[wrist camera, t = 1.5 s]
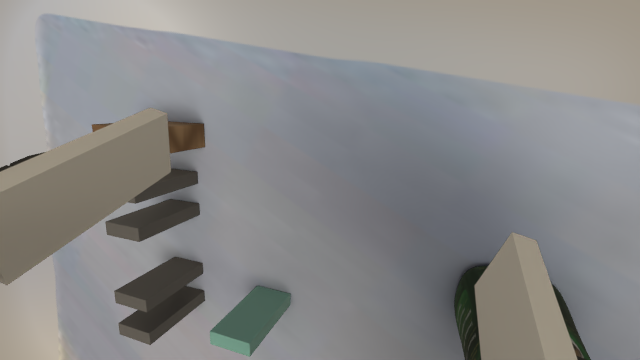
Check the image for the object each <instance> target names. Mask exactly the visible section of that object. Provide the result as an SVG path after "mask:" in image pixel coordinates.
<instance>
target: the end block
mask: <svg viewBox="0 0 640 360" xmlns="http://www.w3.org/2000/svg"><path fill="white" fill-rule="evenodd" d="M111 124H113V123H109V124H93V125H92V129H93V132H95V131H97V130H99V129H102V128H104V127H106V126H109V125H111ZM168 134H169V149H170V153H175V152H180V151H185V150H191V149H196V148H202V147H205V137H204V124H200V123H185V122H169V121H168Z"/></svg>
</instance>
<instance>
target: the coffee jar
mask: <svg viewBox="0 0 640 360" xmlns="http://www.w3.org/2000/svg"><path fill="white" fill-rule="evenodd" d="M487 267H488V266H478V267H474V268H472V269H470V270H468V271H467V272H466V273H465V274H464V275H463V276H462V278H461V280H460V282H459V285H458V288H457V291H456V295H455V303H454V307H455V316H456V322H457V326H458V331H459V335H460V339H461V343H462V347H463V352H464V357H465V360H481V351H480V341H479V330H478V319H477V308H476V297H475V284H476V283H477V282H478V280H479V279H480V277H481V276H482V274H483V273H484V272H485V270H486V269H487ZM552 287H553V290H554V293H555V296H556V299H557V302H558V305H559V307H560V310H561V313H562V316H563V319H564V322H565V325H566V328H567V331H568V333H569V336H570V339H571V342H572V345H573V348H574V351H575V354H576V355H577V356H579V357H582V358H584V359H587V360H591V359H590V357H589V355H588V353H587V351H586V349H585V347H584V345H583V343H582V341H581V338H580V336H579V334H578V332H577V329H576V327H575V324H574V322H573V319H572V317H571V314H570V312H569V310H568V307H567V305H566V303H565V301H564V299H563V297H562V295H561V294H560V292H559V291H558V290H557V289H556V288H555V287H554V286H553V285H552Z"/></svg>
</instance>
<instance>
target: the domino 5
mask: <svg viewBox="0 0 640 360" xmlns="http://www.w3.org/2000/svg"><path fill="white" fill-rule="evenodd" d="M289 306H290V294H289V293H285V292H281V291H277V290H273V289H269V288H265V287H261V286H256V287H255V288H254V289H253V290H252V291H251V292H250V293H249V294H248V295H247V296H246V297H245V298H244V299H243V300H242V301H241V302H240V303H239V304H238V305H237V306H236V307H235V308H234V309H233V310H232V311H231V312H229V313H228V314H227V315H226V316H225V317H224V318H223V319H222V320H221V321H220V322H219V323H218V324H217V325H216V326H215V327H214V328H213V329H212V330H211V331H210V341H211V344H213V345H216V346H219V347H222V348H225V349H228V350H231V351H234V352H237V353H240V354H243V355H246V356H249V357H250V356H251V355H252V353H253V352H254V351H255V349H256V348H257V347H258V346H259V344H260V343H261V342H262V340H263V339H264V338H265V337H266V335H267V334H268V333H269V331H270V330H271V329H272V328H273V326H274V325H275V324H276V322H277V321H278V320H279V319H280V317H281V316H282V315H283V313H284V312H285V311H286V310H287V308H288V307H289Z"/></svg>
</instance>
